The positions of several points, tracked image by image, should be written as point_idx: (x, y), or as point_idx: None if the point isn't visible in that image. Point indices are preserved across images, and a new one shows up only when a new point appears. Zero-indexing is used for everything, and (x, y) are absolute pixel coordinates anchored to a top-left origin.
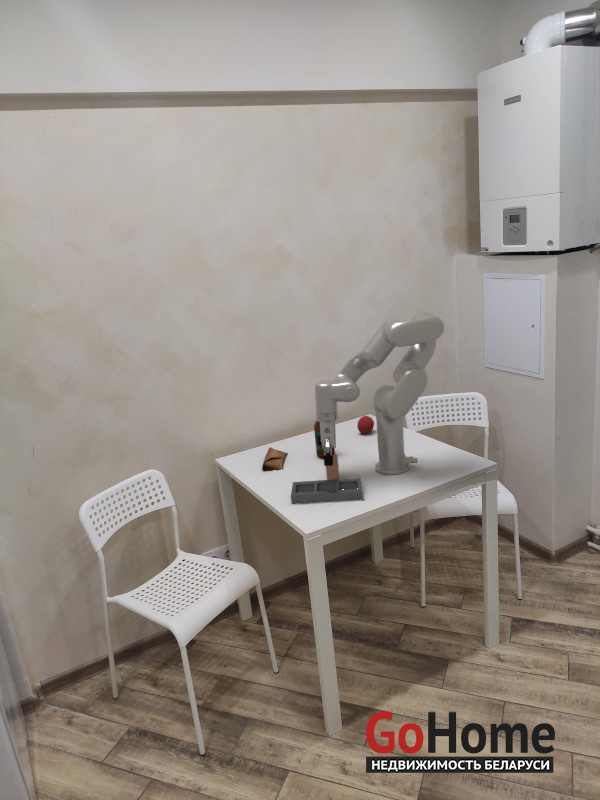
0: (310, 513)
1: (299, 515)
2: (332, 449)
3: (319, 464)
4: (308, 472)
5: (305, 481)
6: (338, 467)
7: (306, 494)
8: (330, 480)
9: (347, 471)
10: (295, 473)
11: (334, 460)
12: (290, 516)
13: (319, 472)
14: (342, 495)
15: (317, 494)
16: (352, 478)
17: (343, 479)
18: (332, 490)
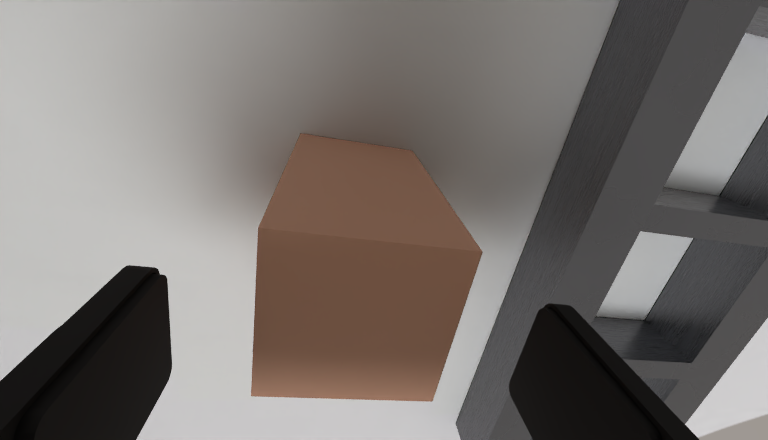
0: (764, 357)
1: (743, 396)
2: (103, 349)
3: (12, 273)
4: (197, 354)
5: (500, 420)
6: (296, 155)
7: (689, 413)
8: (582, 268)
9: (231, 27)
10: (203, 421)
11: (463, 285)
12: (722, 425)
13: (211, 285)
14: None
15: (730, 359)
16: (672, 52)
17: (631, 154)
18: (760, 271)
